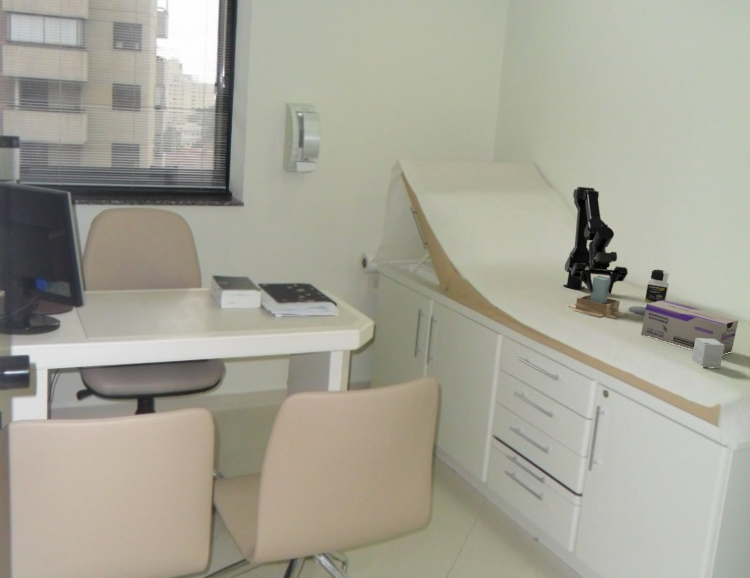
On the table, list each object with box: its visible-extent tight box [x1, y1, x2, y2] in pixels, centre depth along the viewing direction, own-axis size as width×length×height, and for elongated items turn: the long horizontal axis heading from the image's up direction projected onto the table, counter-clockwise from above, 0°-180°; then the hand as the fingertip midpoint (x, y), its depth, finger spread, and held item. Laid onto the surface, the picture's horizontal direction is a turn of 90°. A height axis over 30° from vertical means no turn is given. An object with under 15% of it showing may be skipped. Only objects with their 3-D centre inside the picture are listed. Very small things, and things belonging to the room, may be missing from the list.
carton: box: [568, 293, 626, 320], centre depth 291 cm, size 17×17×4 cm
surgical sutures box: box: [640, 300, 739, 354], centre depth 260 cm, size 25×11×11 cm, turn 43°
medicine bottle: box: [644, 269, 670, 303], centre depth 313 cm, size 7×7×12 cm
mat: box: [628, 305, 646, 316], centre depth 296 cm, size 10×10×1 cm
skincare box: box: [690, 338, 725, 369], centre depth 240 cm, size 6×6×7 cm
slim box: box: [590, 275, 611, 305], centre depth 290 cm, size 4×4×12 cm
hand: (600, 292), depth 289 cm, fingers closed on slim box, 6 cm apart
